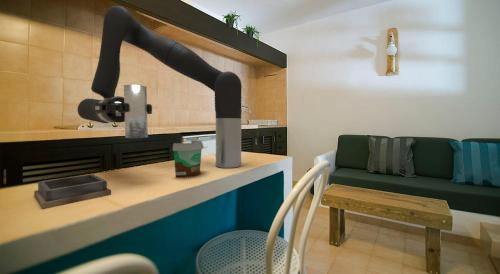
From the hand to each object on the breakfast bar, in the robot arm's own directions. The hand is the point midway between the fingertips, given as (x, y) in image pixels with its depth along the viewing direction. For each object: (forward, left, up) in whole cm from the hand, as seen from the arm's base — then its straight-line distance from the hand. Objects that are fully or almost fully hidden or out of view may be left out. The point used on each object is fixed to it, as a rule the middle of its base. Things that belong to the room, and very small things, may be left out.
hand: (138, 107), depth 58 cm
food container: (-12, +10, -20) cm, 25 cm away
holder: (+10, -9, -19) cm, 24 cm away
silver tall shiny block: (-1, -1, -8) cm, 8 cm away
